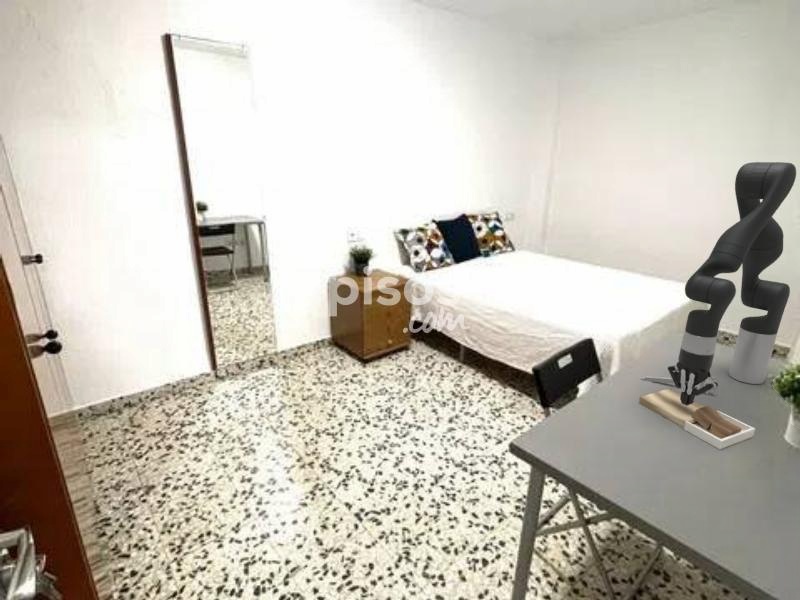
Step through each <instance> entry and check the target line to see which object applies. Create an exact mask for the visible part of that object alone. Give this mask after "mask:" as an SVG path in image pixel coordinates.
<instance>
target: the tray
mask: <svg viewBox="0 0 800 600" xmlns="http://www.w3.org/2000/svg"><path fill="white" fill-rule="evenodd" d="M715 412H716V413H718V414H719V415H720V416H721V417H722V418H724V419H725V420H727V421H729V422H731V423H733V424H735V425H737V426H739V427H740V428H742V430H741V432H739V433H736V434H734V435H731V436H728V437H726V438H723V439H721V438H719V437H717V436H715V435H713V434H712V433H710V428H709V429H705V428H704V427H703V426H702V425H701V424H699V423H696V424H691V423H690V422H688V421H686V422H685V426H684V428H683V430H685V431H686V432H688V433H689V434H692V435H693V436H695V437H697V438H699V440H702V441H703V442H706V443H707V444H710V445H711V446H712V447H715V448H716V449H719V450H721V449H725V448H726V447H730V446H732V445H736V444H737V443H740V442H743V441H745V440H748V439H750V438H751V439H752V438H753V437H754V436H755V435H754V434H755V431H756V428H755V427H753V426H750V425H749V424H748V423H747V424H746V423H744V422H742V421H741V420H739V419H736V418H735V417H733V416H730V415H728V414H726V413H724V412H722V411H719V410H716V411H715Z"/></svg>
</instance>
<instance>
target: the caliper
mask: <svg viewBox="0 0 800 600" xmlns="http://www.w3.org/2000/svg"><path fill="white" fill-rule="evenodd" d="M714 378H715V377H714V376H712V377H711V380H712V381H713V382H716V383H717V384H718V381H717V379H714ZM639 379H640V380H643V381H646V382H649V383H651V382H652V383H664V384H675V383H674V381H673V379H672V377H664V376H663V377H662V376H650V375H648V376H647V375H645V376H643V377H642V376H641V377H640V378H639ZM704 383H705V381H703V382H702V383H701V384H700V386H699V387H698V388H702V387H704ZM717 390H718V386H717V387H715V388H713V389H712V396H716V395H717V392H718V391H717ZM704 394H705V395H709V391H707V392H705V393H704Z"/></svg>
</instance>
